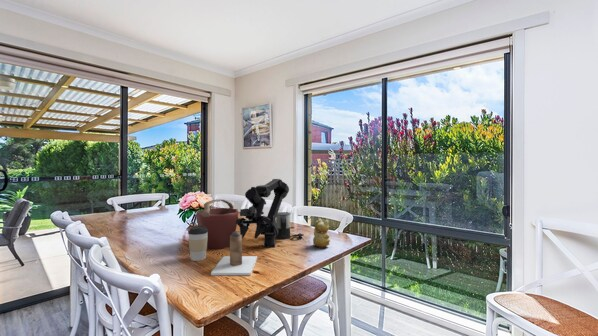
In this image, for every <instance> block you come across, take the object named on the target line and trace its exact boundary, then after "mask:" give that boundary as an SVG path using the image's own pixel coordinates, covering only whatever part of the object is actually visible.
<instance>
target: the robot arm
mask: <svg viewBox="0 0 598 336" xmlns="http://www.w3.org/2000/svg"><path fill="white" fill-rule="evenodd" d="M272 191H273V194H274V196H273V200H272V202H271V205H270V208H269V211H268V213H267V215H265V214H264V213H265V212H264V211H263V210H264V207H265V205H267V201H266V199H265V198H269V197H270V196H271V194H272V193H271V192H272ZM289 192H290V187H289V186H288V184H287V183H286V182H284V181H283V180H282V179H281V178H272V180H271V181H269V182H267V183H266V184H261V185H256V186H251V188H249V189H247V190H246V192H245V193H244V196H245V198H246V199H247V200H248V201H249V203H250V204H251V206H249V207H248V208H241V209H240V210H239V217H238V219H237V220H236V223H237V226H239V233H240V235H242V240H243V239H244V238H245V236H246V234H247V232H248V231H249V226H250V225H251V224H256V228H255V233H254V236H253V238H254V239H258V238H259V236H261V235H262V236H263V237H264V238H263V245H262V247H263V248H275V247H276V245H277V244H276V241H275V240H276V235H278V231H279V230H278V228H277V226H276V225H277V224H276V216H277V214H278V212H279V211H280V208H281V205H282V202H283V199H285V198H286V197H287V195H288V193H289Z"/></svg>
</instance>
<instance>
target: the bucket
mask: <svg viewBox="0 0 598 336" xmlns="http://www.w3.org/2000/svg"><path fill="white" fill-rule="evenodd" d="M219 201H221V202H223V203H225V204H226V205H227V206H228V207H219V208H218V207H216V208H211V207H210V205H212V204H214V203H215V202H219ZM195 218H196V223H197V226H204V227H206V228H207V229H208V234H207V236H208V239H207V249H206V250H223V249H227V248H230V235H232V233H233V232H234V231H237V227H238V225H237V223H236V220H237V219H238V218H239V210H238V208H235V207H234V205H233V203H232V202H230V201H228V200H226V199H223V198H222V199H221V198H219V199H217V198H216V199H211V200H209V201H206V202H205V203H203V209H202V210H198V211H196V212H195Z"/></svg>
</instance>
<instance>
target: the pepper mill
mask: <svg viewBox="0 0 598 336" xmlns="http://www.w3.org/2000/svg"><path fill="white" fill-rule="evenodd" d="M229 256H230V265H232V266H238V265H241V264H242V256H243V239H242V235H240V231H237V230H236V231H234V232H233V233H232V235H230V247H229Z"/></svg>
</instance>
